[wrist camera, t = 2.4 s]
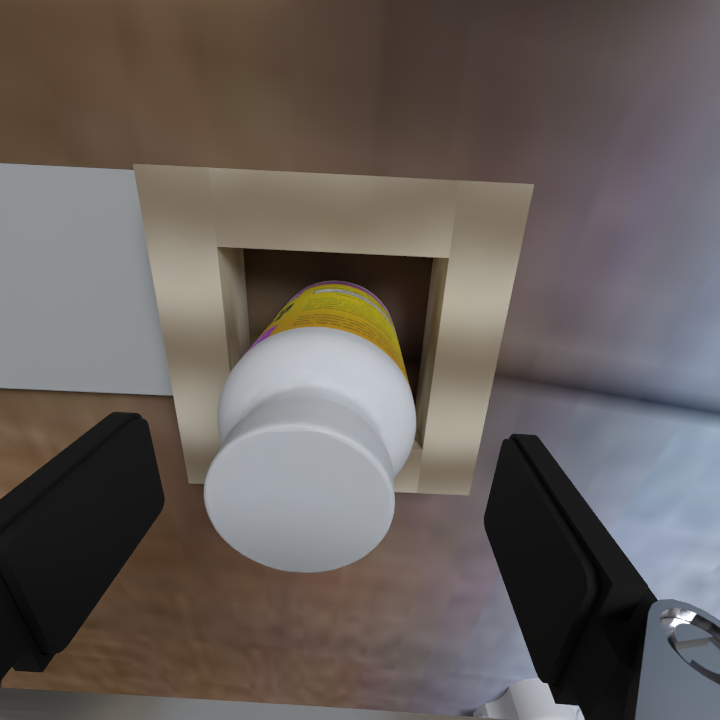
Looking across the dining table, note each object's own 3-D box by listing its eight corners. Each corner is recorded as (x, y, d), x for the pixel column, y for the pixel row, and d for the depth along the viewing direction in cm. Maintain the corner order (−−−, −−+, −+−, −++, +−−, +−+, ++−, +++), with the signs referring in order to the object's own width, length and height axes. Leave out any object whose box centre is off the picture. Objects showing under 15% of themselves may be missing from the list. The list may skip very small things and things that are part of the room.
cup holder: (454, 456, 23) (468, 495, 20) (212, 446, 23) (188, 483, 20) (502, 189, 17) (534, 184, 14) (176, 173, 17) (132, 163, 14)
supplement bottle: (298, 259, 19) (186, 336, 7) (412, 302, 20) (489, 438, 8) (265, 367, 21) (142, 563, 9) (369, 402, 22) (377, 622, 10)
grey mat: (189, 391, 22) (184, 396, 21) (-8, 382, 22) (-18, 387, 21) (155, 172, 17) (148, 170, 17) (-94, 159, 17) (-110, 157, 17)
